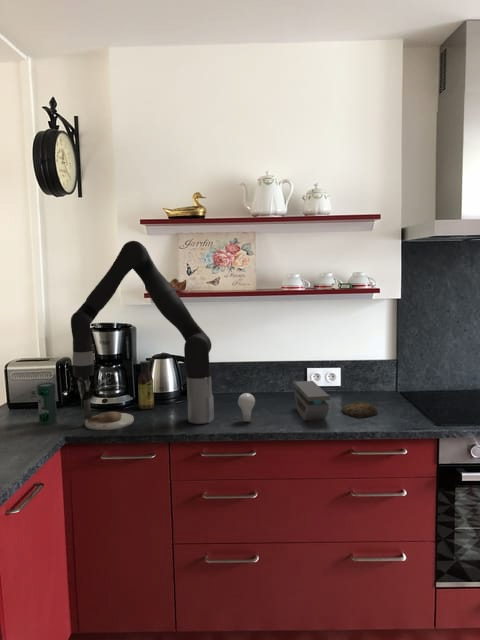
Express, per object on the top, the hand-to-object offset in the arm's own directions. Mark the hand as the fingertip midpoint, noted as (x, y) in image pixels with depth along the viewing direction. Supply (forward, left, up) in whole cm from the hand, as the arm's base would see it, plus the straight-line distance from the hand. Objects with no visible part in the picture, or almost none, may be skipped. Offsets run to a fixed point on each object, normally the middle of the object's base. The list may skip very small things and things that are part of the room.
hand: (84, 407), depth 191 cm
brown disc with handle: (-7, -1, -5) cm, 9 cm away
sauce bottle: (-15, -24, -6) cm, 29 cm away
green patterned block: (+15, +1, -6) cm, 17 cm away
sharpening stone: (-84, -22, -7) cm, 87 cm away
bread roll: (-103, -28, -7) cm, 107 cm away
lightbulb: (-61, -11, -6) cm, 62 cm away
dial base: (-9, -2, -6) cm, 11 cm away
